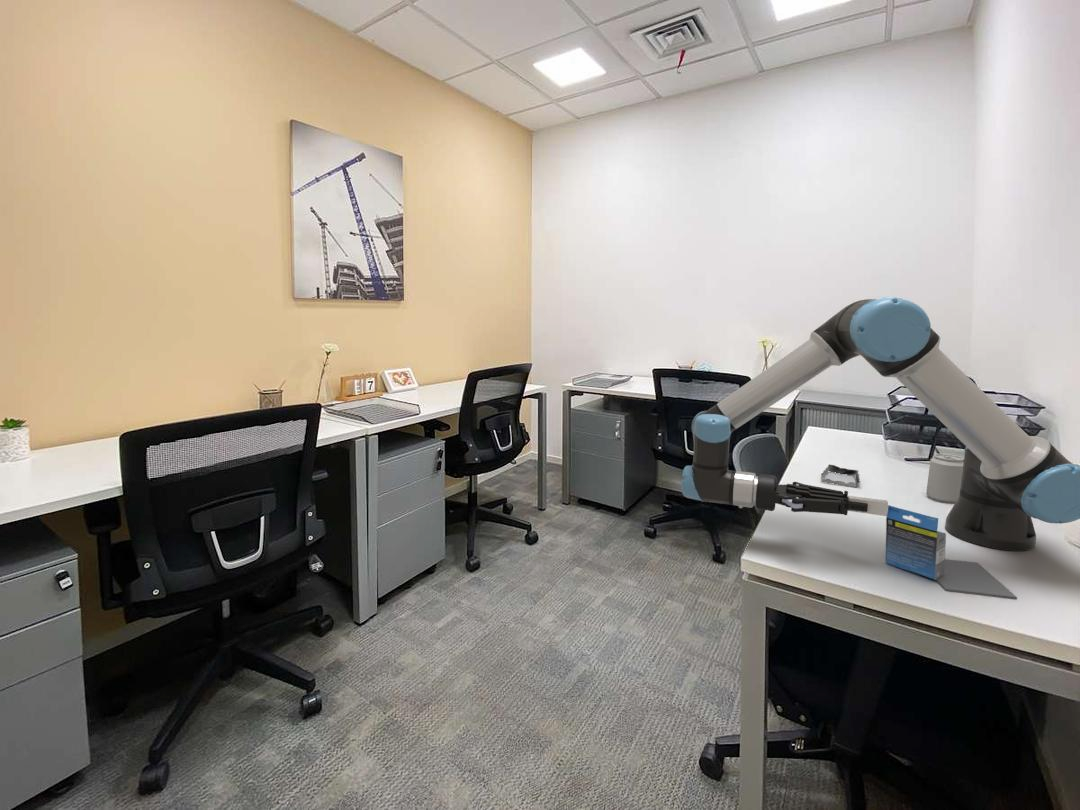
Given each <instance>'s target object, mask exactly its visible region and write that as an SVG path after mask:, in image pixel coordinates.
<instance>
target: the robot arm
mask: <svg viewBox="0 0 1080 810" xmlns="http://www.w3.org/2000/svg"><path fill="white" fill-rule="evenodd" d="M931 326H932V325H931V321H930V318H929V316H928V314H927V313H926V311H925V310H924V309H923V308H922V307H921V306H920V305H918V304H916V303H915V302H913V301H910V300H907V299H904V298H901V297H895V296H894V297H893V296H887V297H886V296H884V297H880V298H873V299H872V298H866V299H862V300H861V299H859V300H857V301H854V302H852V303H850V304H849V305H846V306H845V307H843V308H842V309H841V310H839V311H838V312H837V313H835V314H834V315H833V316H832V317H830V318H829V319H828V320H826V321H825V322H824V323H822V324H821V325H820V326H819V327H817V328H816V329H815V330H813V331H811V332H810V335H809V339H808V340H807V341H805V342H804V343H802V344H801V345H799V346H798V347H797V348H795V349H793V350H792V351H791V352H789V353H788V354H786V355H785V356H784V357H782V358H780V359H779V360H778V361H776V362H775V363H773V364H772V365H771V366H769V367H768V368H766V369H764V370H763V371H762V372H760V373H759V374H758V375H756V376H755V377H753V378H752V379H751V380H749V381H748V382H746V383H745V384H743V385H742V386H740V387H739V388H737V389H736V390H735V391H733V392H732V393H730V394H729V395H727V396H726V397H725V398H724V399H722V400H721V401H719V402H717V403H716V404H715V405H714V406H712V407H710V408H708V410H704V411H700V412H698V413H697V414H696V415H695V416H694V418H693V419H692V421H691V427H690V429H691V433H692V438H693V458H692V459H693V460H692V464H691V465H685V467H684V468H683V470H682V474H681V475H682V476H681V487H680V488H681V493H682V496H683V497H685V498H687V499H691V500H696V501H700V502H702V503H703V502H704V503H705V502H706V503H716V504H723V505H731V506H738V508H739V509H743V508H753V507H754V506H755V508H756V509H757V510H762V511H768V512H769V511H770V512H773V511H775V509H776V504H777V505H781V506H785V507H787V508H791V509H790V512H793V513H803V512H804V513H805V512H807V513H816V514H817V513H820V514H835V515H844V516H848V512H854V513H861V514H868V515H875V516H883V517H887V510H888V505H889V502H888V500H887V499H878V498H871V497H870V498H869V497H861V496H855V495H854V496H853V495H848V494H849V491H847V490H844V491H842V490H837V489H831V488H827V487H820V486H815V485H810V484H806V483H805V484H804V483H801V482H799V481H793V482H792V483H786V484H778V477H777V476H776V475H771V474H763V473H760V474H758V476H757V475H756V473H755V472H749V471H738V470H730V469H729V454H730V440H731V435H732V433H733V432H734V431H736V430H737V429H739V428H740V427H742V426H743V425H744V424H746V423H747V422H749V421H751V420H752V419H753V418H755V417H757V416H758V415H760V414H761V413H763V412H764V411H766V410H767V409H768V408H771V406H773V405H775V404H776V403H778V402H779V401H781V400H782V399H783V398H785V397H787V396H788V395H790V394H791V393H793V392H795V391H796V390H797V389H799V388H800V387H802V386H803V385H804V384H807V382H809V381H810V380H812V379H814V378H815V377H816V376H818V375H820V374H821V373H822V372H824V371H825V370H827V369H829V368H831V366H832V367H833V366H835V367H840V366H842V365H844V364H845V363H846V362H848V361H849V360H851V359H853V358H856V357H858V356H861V357H862V358H863V359H864V360H865V361H866V362H867V363H868V365H870V366H871V367H872V368H873V369H874V370H876V372H878V373H879V375H880V376H881V377H883V378H896V380H898V381H899V382H900V383H901V384H902V385H903V386H904V387H905V388H906V389H907V390H908V391H909V392H910V393H911V394H912V395H913V396H914V397H915V398H916V399H917V400H918V401H919V402H920V403H921V404H922V405H923V406H924V407H926V408H927V410H928V411H929V412H930V413H932V415H933V416H934V417H936V419H938V420H939V421H940V422H941V424H943V426H945V428H947V429H948V430H949V431H950V432H951V433H952V434H953V435H954V436H955V437H956V438H957V439H958V440H959V442H961V443H962V444H963V445H964V446H965V448H964V457H963V458H964V460H963V461H964V464H963V472H962V479H961V487H960V494H959V498H958V500H957V501H956V503H953V506H952V508H951V509H950V511H949V513H948V515H947V516H946V519H945V523H944V529H945V530H946V531H947V532H948V533H949V534H951V535H952V536H954V537H956V538H959V539H961V540H962V541H966V542H969V543H972V544H974V545H979V546H983V547H987V548H992V549H996V550H997V549H998V550H1004V551H1014V552H1015V551H1016V552H1017V551H1018V552H1020V551H1021V552H1023V551H1030V550H1032V549H1034V548H1035V546H1036V542H1037V541H1036V540H1037V534H1036V531H1035V530H1036V529H1035V527H1034V522H1033V520H1032V518H1033V519H1036V520H1039V521H1042V522H1045V523H1047V524H1048V523H1049V524H1061V525H1062V524H1068V523H1072V522H1076V521H1078V520H1080V465H1079V464H1075V463H1072V462H1071V461H1070V460H1069V459H1067V458H1066V457H1065V456H1064V455H1063V453H1061V452H1060V451H1059V450H1058V449H1057V448H1056V447H1055V446H1053V444H1052V443H1050V442H1049V441H1048V440H1047V439H1046V438H1045V437H1041V436H1033V435H1029V434H1028V433H1027V432H1025V431H1024V430H1023V429H1022V427H1020V426H1019V425H1018V424H1017V423H1016V421H1014V420H1013V419H1012V418H1011V417H1010V416H1009V415H1008V414H1007V413H1006V412H1005V411H1004V410H1003V409H1001V408H1000V406H998V405H997V403H996V402H994V401H993V400H992V398H991V397H989V396H988V395H987V394H986V393H985V391H983V390H982V389H981V388H980V387H979V386H978V385H977V384H976V383H975V382H974V381H973V380H972V379H971V378H969V376H968V375H967V374H965V372H963V371H962V370H961V368H959V366H957V365H956V364H955V363H954V361H952V360H951V359H950V358H949V357H948V356H947V355H946V354H945V353H944V352H943V351H942V350H941V349H940V342H941V336H940V335H939V334H938V333H936V331H935V330H934V329H933V328H932V327H931Z"/></svg>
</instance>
